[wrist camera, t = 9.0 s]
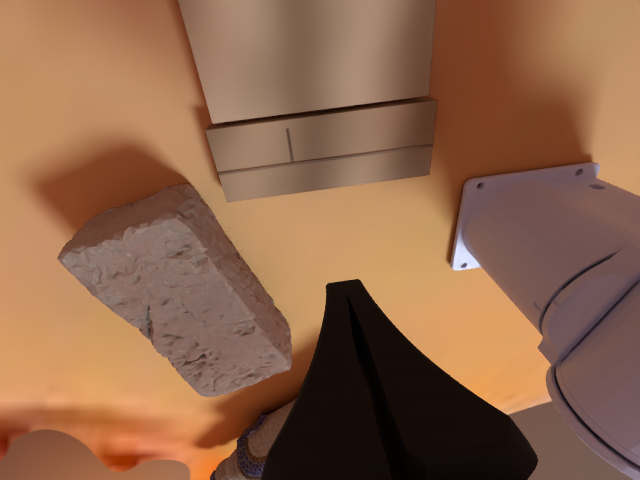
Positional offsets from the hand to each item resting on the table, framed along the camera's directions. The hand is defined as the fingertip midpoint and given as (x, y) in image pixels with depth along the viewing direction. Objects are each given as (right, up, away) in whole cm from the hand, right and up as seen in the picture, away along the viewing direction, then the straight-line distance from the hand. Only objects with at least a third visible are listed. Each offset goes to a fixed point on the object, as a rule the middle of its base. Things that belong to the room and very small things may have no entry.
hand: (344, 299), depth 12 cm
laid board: (-1, +8, +6) cm, 10 cm away
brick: (-10, -1, +12) cm, 16 cm away
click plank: (-1, +13, +3) cm, 14 cm away
